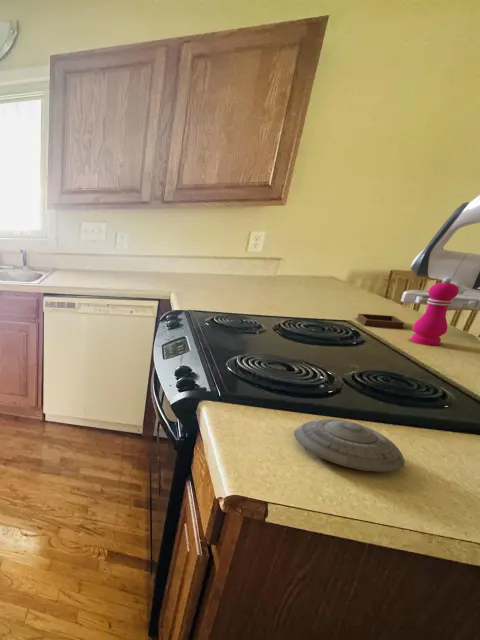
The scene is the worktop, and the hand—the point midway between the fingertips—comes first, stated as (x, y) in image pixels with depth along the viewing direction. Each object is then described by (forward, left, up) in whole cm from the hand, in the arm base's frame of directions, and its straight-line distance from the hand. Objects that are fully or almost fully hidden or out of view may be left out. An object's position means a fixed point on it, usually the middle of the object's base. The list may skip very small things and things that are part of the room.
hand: (443, 303), depth 123 cm
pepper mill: (-2, +8, -11) cm, 14 cm away
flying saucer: (-26, +96, -11) cm, 100 cm away
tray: (+16, -5, -11) cm, 20 cm away
